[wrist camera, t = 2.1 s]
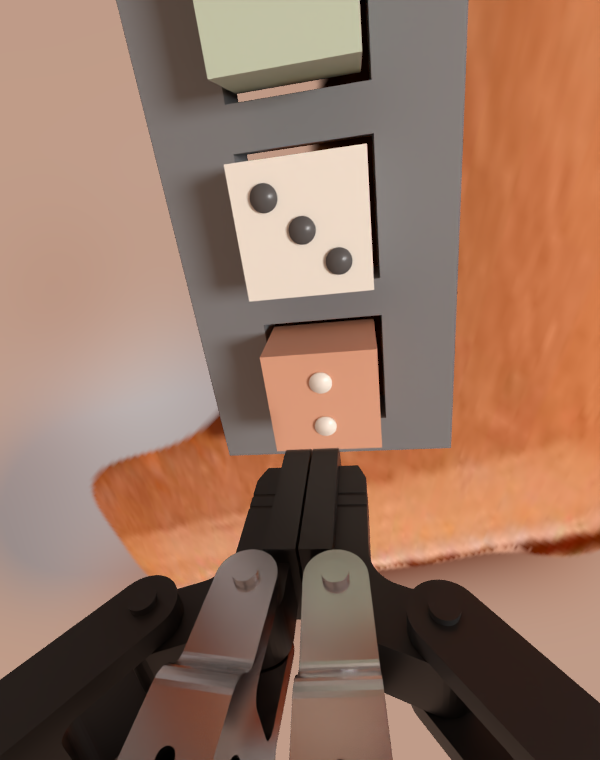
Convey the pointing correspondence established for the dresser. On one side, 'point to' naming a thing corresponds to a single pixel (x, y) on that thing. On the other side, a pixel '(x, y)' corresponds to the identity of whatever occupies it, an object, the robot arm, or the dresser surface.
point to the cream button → (303, 223)
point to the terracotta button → (323, 385)
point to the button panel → (391, 192)
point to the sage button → (278, 41)
